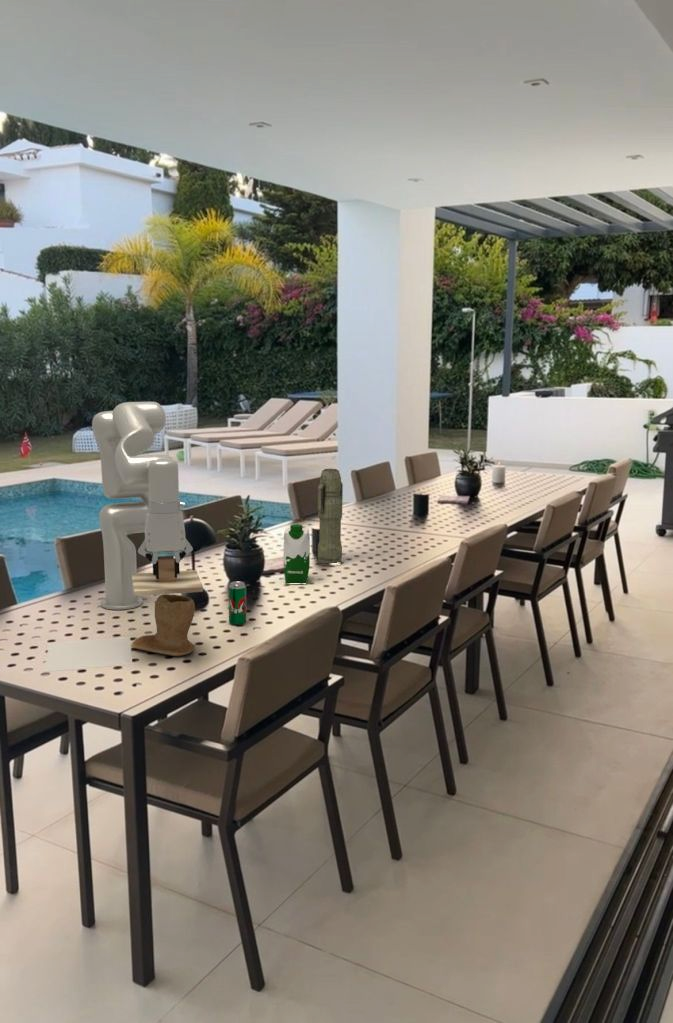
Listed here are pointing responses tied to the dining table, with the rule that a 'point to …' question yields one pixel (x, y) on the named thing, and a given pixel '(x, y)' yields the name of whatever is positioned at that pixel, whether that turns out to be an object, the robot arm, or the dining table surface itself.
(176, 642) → the brown boot-shaped piece
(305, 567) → the milk carton
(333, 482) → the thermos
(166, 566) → the birch lid
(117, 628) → the dining table surface
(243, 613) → the soda can
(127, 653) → the grey mat
